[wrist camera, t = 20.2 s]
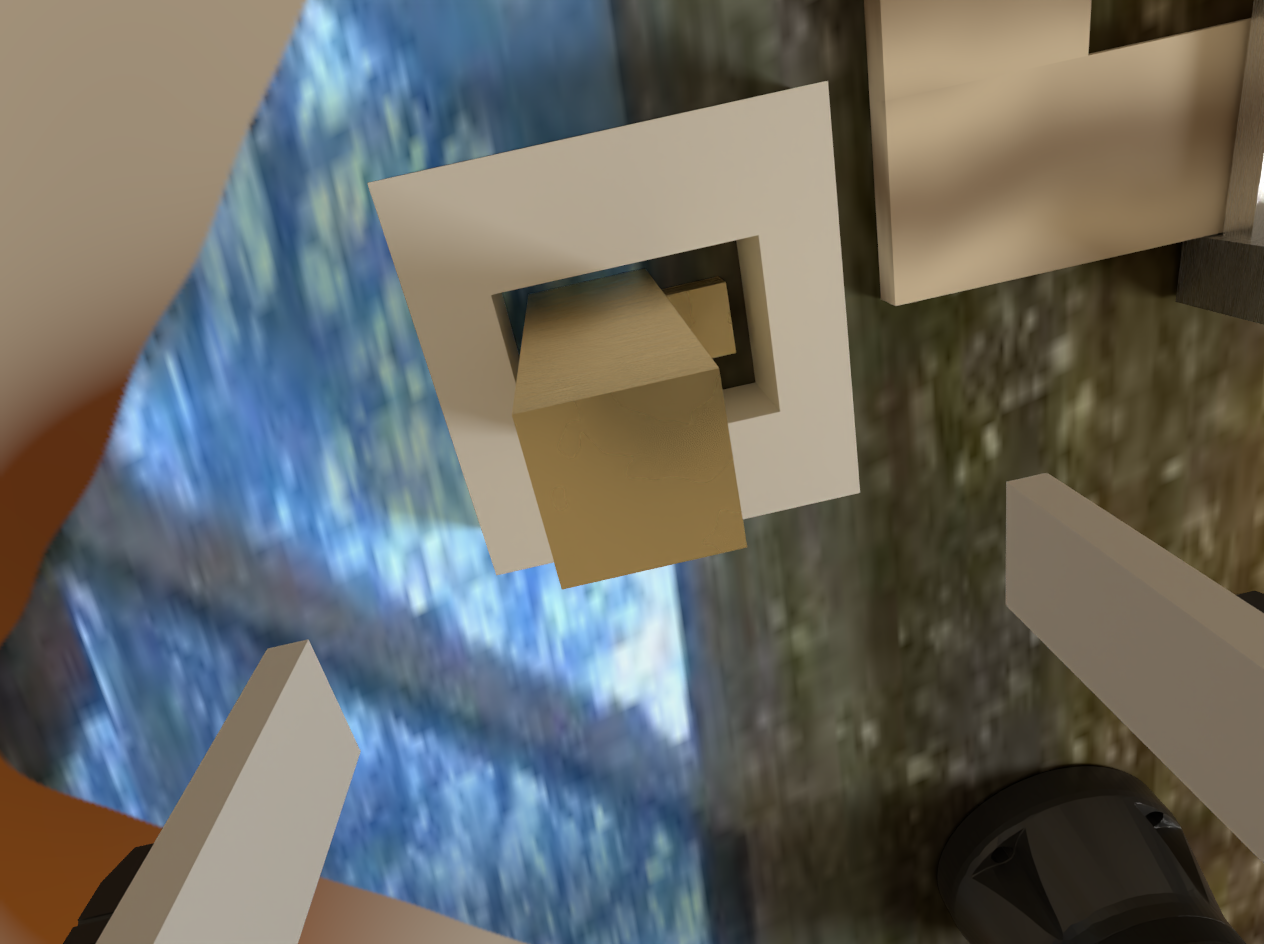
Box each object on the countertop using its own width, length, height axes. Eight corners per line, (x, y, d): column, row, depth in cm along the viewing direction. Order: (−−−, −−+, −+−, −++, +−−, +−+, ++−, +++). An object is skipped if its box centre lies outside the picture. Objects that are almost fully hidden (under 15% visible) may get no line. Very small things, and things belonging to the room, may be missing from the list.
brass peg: (731, 365, 33) (857, 521, 20) (557, 404, 33) (562, 589, 20) (714, 252, 31) (842, 340, 18) (528, 294, 31) (511, 414, 17)
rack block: (828, 456, 36) (860, 492, 32) (502, 530, 35) (496, 575, 32) (792, 88, 29) (827, 80, 25) (390, 177, 29) (367, 182, 25)
